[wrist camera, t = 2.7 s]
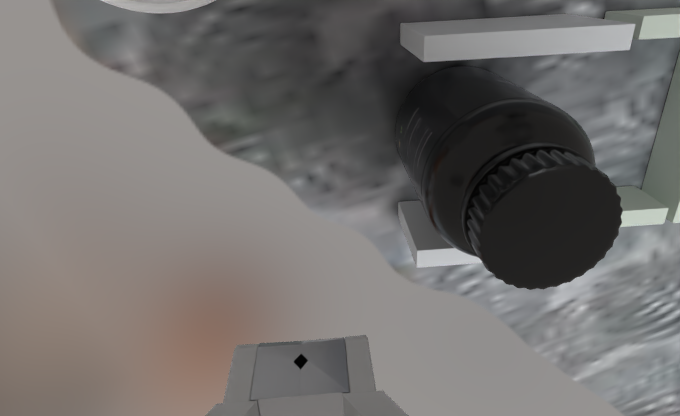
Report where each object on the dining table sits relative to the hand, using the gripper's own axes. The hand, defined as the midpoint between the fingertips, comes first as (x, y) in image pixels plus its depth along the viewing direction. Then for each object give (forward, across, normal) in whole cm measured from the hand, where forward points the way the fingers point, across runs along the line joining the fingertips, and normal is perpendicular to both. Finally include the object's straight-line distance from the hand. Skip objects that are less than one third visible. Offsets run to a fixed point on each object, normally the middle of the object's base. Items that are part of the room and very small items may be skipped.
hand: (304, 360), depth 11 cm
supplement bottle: (+17, -8, 0) cm, 19 cm away
